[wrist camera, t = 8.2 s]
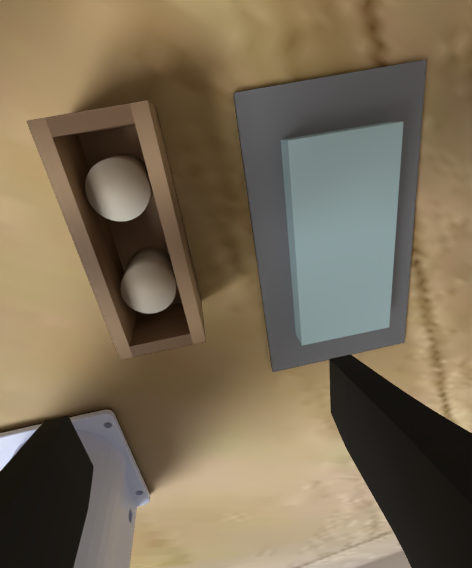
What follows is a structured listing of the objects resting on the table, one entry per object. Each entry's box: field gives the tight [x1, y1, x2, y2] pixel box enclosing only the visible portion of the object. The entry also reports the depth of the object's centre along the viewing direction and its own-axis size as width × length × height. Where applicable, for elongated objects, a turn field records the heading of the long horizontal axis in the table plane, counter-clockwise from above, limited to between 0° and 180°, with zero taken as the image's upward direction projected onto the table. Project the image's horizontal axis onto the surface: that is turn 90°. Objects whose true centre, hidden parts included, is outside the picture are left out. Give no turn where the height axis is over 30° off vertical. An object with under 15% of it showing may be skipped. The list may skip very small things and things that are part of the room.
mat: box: [233, 60, 427, 372], centre depth 19 cm, size 16×9×1 cm, turn 9°
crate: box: [27, 100, 206, 360], centre depth 15 cm, size 10×4×4 cm, turn 9°
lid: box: [281, 122, 403, 346], centre depth 18 cm, size 11×5×1 cm, turn 8°
